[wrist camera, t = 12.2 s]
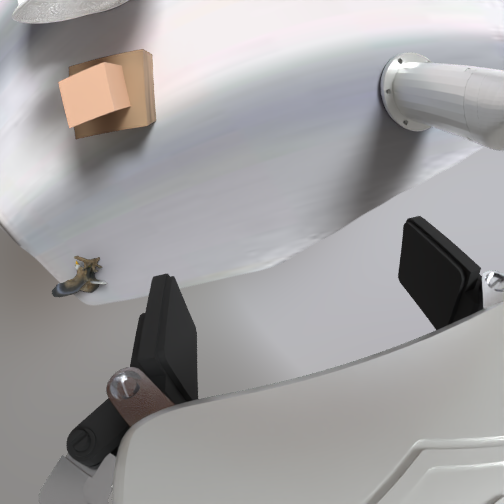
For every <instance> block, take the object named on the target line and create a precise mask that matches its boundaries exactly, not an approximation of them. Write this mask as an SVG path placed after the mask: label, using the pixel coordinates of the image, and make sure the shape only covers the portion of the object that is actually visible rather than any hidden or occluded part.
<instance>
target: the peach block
mask: <svg viewBox="0 0 504 504" xmlns="http://www.w3.org/2000/svg"><path fill="white" fill-rule="evenodd" d="M58 83H59V88H60V92H61V97H62V101H63V105H64V109H65V114H66V117H67V121H68V125H69V128H72V127H75V126H77V125H80V124H83V123H85V122H88V121H91V120H94V119H96V118H99V117H101V116H104V115H107V114H110V113H112V112H115V111H118V110H121V109H124V108H127V107H130V106H131V105H130V101H129V97H128V92H127V88H126V83H125V79H124V74H123V69H122V66H121V65H116V64H111V63H106V62H103V63H100V64H98V65H95V66H93V67H91V68H88V69H86V70H83V71H81V72H79V73H77V74H74V75H72V76H70V77H68V78H66V79H64V80H62V81H60V82H58Z"/></svg>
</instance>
